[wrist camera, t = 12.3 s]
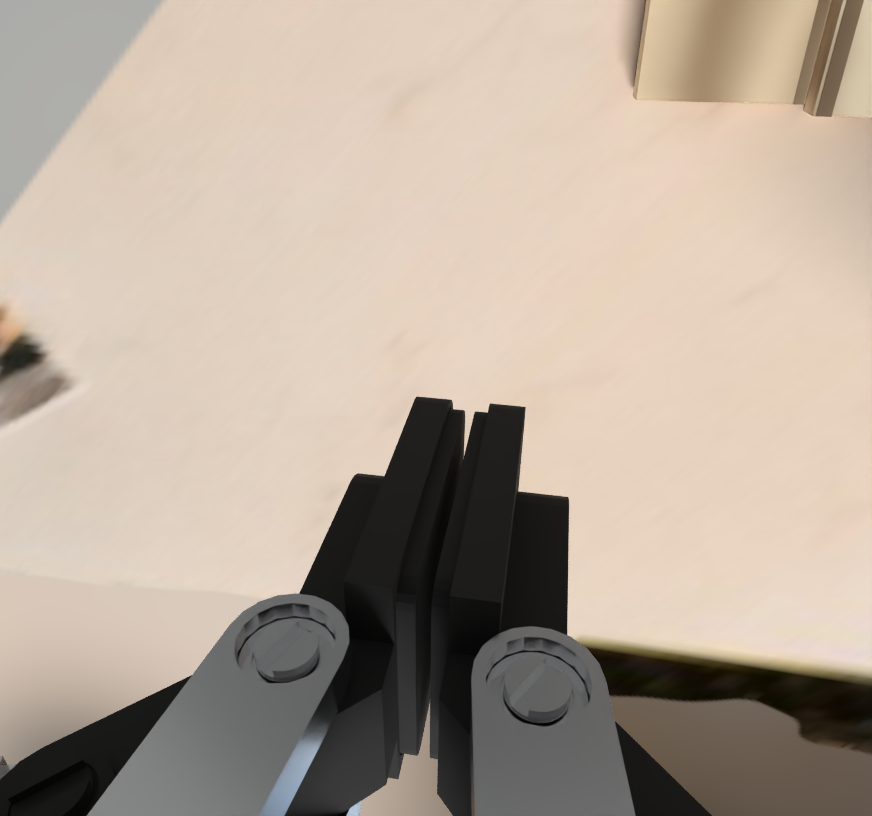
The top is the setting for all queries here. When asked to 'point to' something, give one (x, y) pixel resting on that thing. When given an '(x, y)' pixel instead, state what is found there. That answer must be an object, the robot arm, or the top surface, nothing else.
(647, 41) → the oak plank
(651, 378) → the top surface
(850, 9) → the laid oak floor row
